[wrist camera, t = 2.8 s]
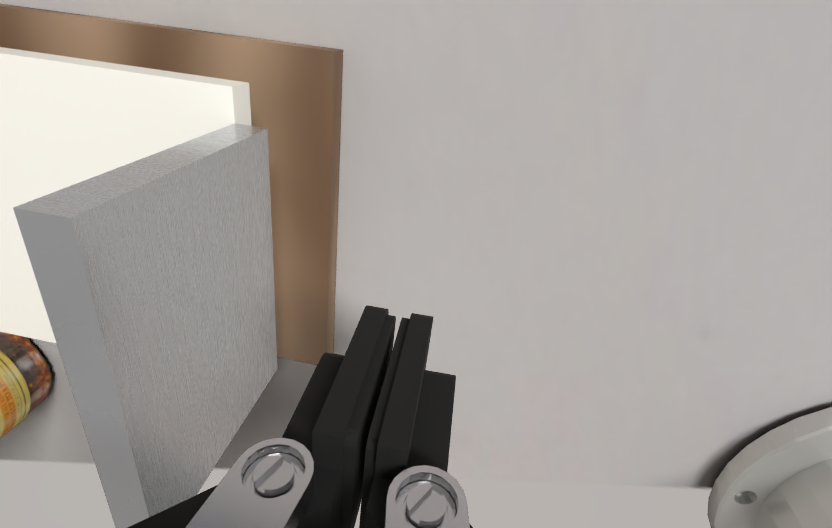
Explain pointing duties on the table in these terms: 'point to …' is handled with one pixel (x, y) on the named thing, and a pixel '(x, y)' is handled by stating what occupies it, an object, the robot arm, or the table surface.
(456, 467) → the table surface
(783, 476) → the robot arm
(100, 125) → the white bracket
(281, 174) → the clip board
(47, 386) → the sauce bottle
